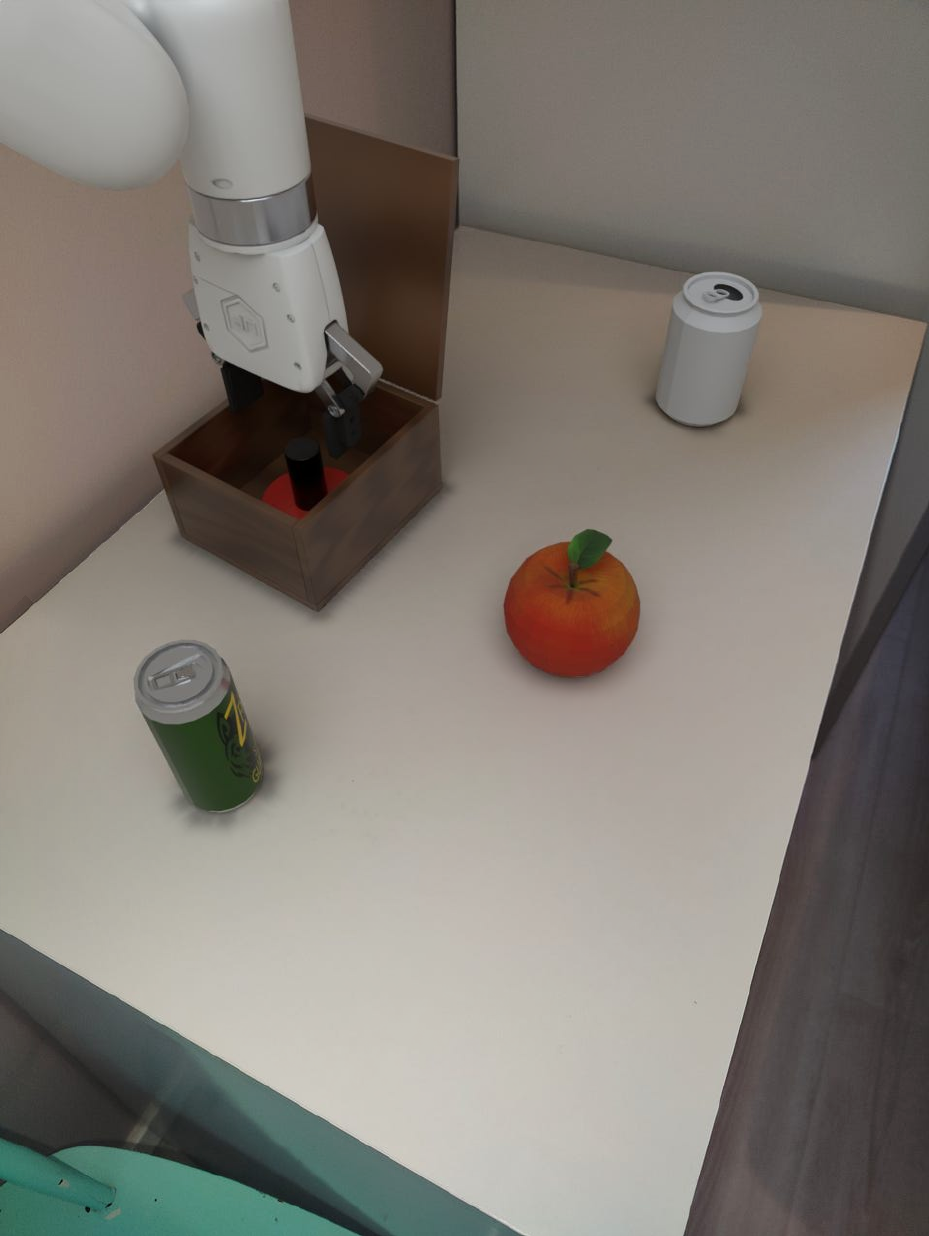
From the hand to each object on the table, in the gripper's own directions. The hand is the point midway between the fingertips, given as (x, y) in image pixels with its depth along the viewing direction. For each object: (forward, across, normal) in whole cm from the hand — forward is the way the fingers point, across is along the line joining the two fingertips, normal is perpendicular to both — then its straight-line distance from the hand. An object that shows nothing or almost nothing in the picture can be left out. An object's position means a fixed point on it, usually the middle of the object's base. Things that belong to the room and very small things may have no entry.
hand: (295, 424), depth 69 cm
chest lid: (-9, 0, +9) cm, 13 cm away
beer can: (+9, +12, -23) cm, 27 cm away
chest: (+9, 0, 0) cm, 9 cm away
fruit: (+9, +25, -1) cm, 27 cm away
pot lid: (+8, 0, 0) cm, 8 cm away
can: (+9, +21, +30) cm, 38 cm away
